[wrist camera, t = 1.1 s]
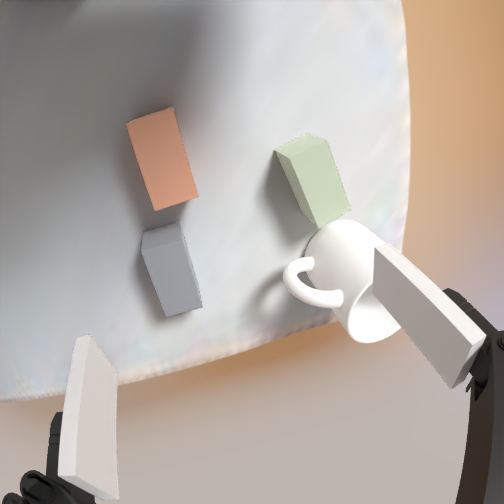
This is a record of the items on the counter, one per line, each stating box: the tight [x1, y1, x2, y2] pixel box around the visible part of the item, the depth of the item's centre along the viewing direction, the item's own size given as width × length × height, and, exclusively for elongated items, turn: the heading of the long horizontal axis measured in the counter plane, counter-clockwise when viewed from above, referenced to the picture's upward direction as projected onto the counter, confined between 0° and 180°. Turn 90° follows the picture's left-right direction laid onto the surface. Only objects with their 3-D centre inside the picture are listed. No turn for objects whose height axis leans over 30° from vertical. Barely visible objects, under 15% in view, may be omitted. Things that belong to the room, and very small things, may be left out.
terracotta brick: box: [126, 107, 199, 211], centre depth 23 cm, size 7×4×4 cm, turn 13°
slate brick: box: [141, 222, 203, 317], centre depth 28 cm, size 7×4×4 cm, turn 10°
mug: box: [283, 220, 401, 343], centre depth 29 cm, size 12×8×10 cm
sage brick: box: [274, 133, 351, 229], centre depth 28 cm, size 7×4×4 cm, turn 26°
